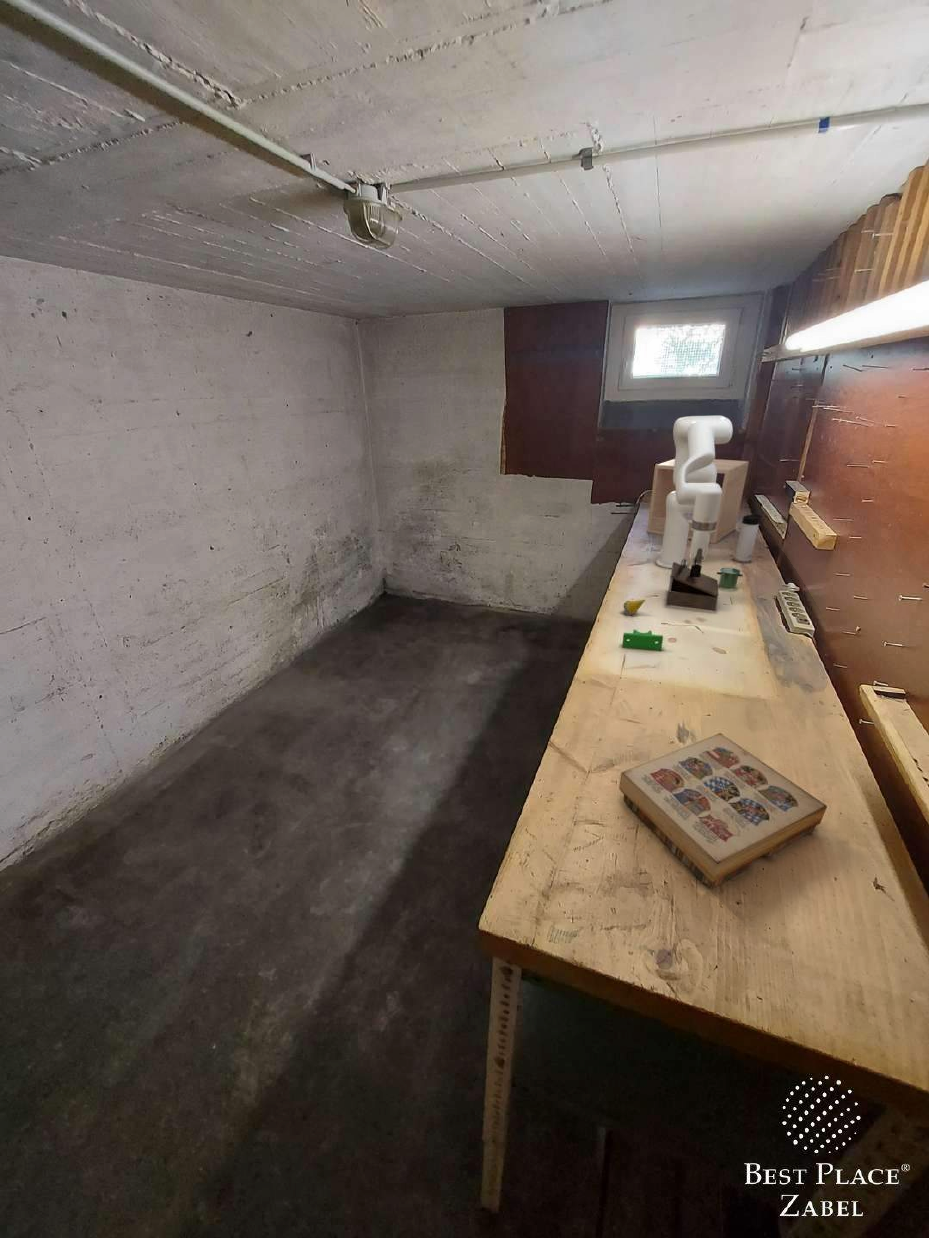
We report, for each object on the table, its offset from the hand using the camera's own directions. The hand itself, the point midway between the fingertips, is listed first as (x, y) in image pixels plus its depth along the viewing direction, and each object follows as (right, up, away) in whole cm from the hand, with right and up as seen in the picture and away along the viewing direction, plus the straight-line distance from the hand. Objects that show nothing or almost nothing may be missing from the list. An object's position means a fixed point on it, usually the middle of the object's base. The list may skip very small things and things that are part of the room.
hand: (694, 576), depth 170 cm
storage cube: (+38, +31, +83) cm, 97 cm away
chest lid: (0, -1, +1) cm, 1 cm away
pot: (+19, -3, +14) cm, 24 cm away
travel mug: (+40, +10, +40) cm, 57 cm away
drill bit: (-23, -14, -3) cm, 27 cm away
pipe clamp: (-27, -24, -23) cm, 43 cm away
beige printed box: (-35, -51, -78) cm, 100 cm away
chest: (0, -9, +4) cm, 10 cm away
